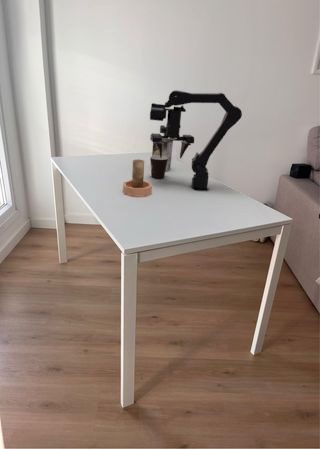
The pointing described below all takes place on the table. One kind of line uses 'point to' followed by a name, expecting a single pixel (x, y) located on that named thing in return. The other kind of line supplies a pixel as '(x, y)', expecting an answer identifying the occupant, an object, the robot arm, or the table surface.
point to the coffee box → (164, 151)
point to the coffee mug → (158, 166)
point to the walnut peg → (138, 174)
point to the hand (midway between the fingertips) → (170, 157)
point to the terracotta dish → (137, 189)
